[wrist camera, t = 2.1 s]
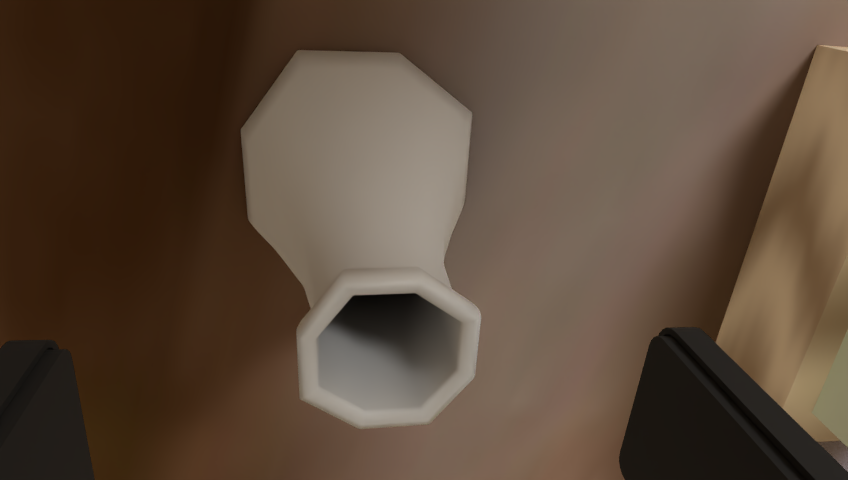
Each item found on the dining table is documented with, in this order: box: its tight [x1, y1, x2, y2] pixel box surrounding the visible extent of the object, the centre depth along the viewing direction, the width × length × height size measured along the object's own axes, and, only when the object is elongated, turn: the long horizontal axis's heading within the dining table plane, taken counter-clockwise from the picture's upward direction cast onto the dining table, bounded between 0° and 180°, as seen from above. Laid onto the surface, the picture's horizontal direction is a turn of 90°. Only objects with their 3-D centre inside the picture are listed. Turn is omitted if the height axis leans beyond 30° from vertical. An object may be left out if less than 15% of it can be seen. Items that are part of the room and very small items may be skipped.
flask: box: [241, 50, 481, 429], centre depth 15 cm, size 7×7×10 cm
